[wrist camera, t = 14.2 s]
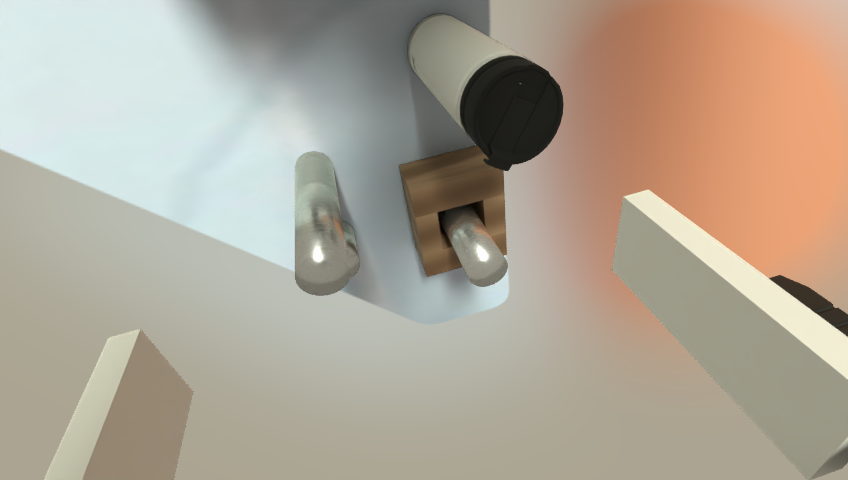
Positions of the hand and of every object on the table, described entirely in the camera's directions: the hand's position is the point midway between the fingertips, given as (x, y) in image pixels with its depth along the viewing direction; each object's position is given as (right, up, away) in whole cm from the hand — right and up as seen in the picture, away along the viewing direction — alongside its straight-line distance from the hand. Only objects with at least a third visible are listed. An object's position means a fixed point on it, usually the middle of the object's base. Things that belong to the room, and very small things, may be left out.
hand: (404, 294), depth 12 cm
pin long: (-11, +9, +34) cm, 37 cm away
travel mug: (+2, +20, +30) cm, 36 cm away
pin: (+3, +7, +40) cm, 41 cm away
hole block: (+3, +7, +40) cm, 41 cm away
